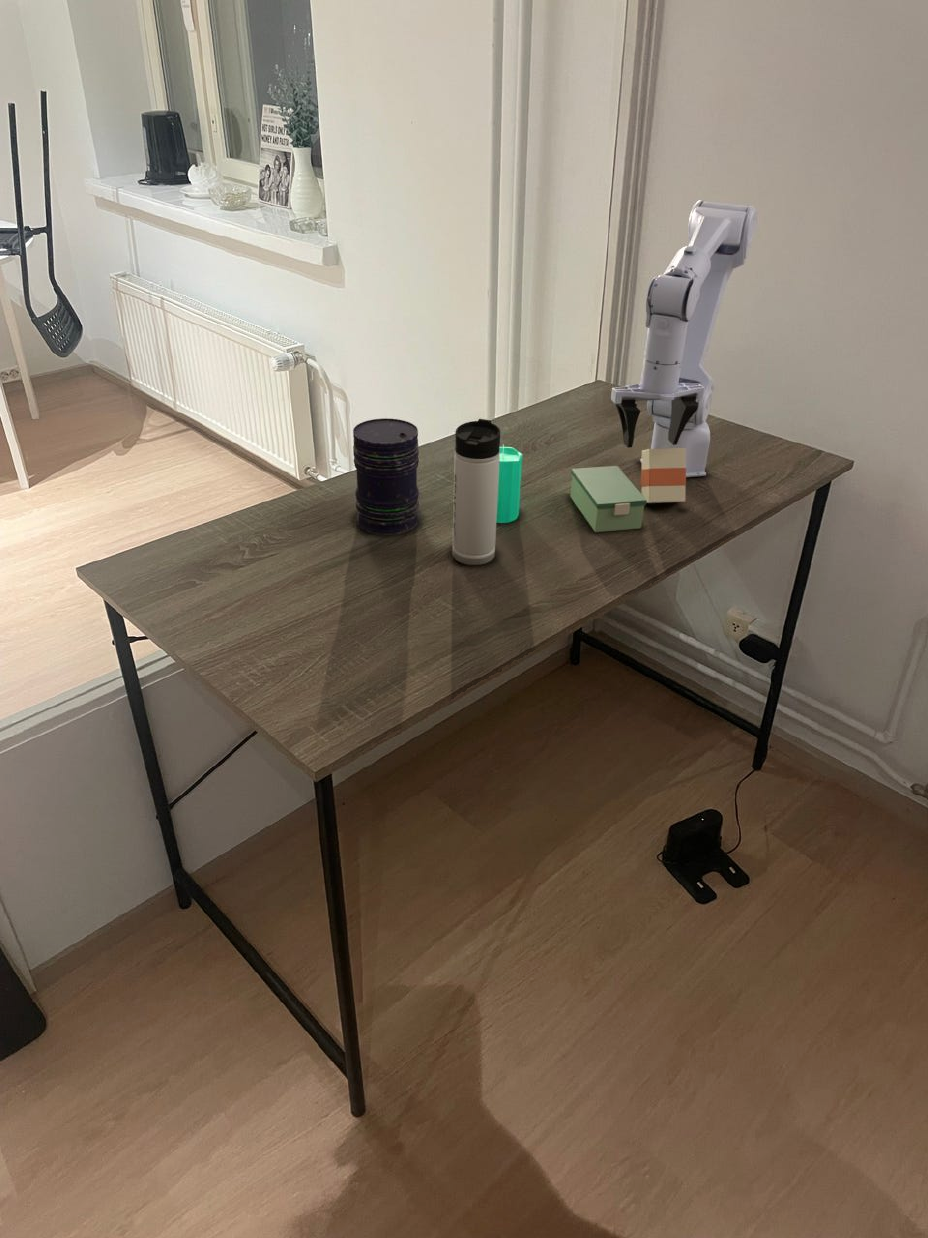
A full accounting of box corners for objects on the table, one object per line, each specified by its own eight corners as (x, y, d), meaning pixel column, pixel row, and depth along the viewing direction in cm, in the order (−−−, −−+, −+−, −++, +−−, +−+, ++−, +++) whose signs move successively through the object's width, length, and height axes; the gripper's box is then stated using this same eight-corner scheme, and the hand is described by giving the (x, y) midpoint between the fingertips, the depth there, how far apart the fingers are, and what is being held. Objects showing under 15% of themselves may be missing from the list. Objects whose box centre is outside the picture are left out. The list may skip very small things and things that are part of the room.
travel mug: (500, 548, 137) (507, 421, 125) (487, 569, 131) (493, 439, 120) (461, 540, 138) (464, 415, 127) (446, 561, 133) (448, 432, 122)
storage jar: (344, 526, 141) (339, 435, 133) (376, 501, 149) (373, 413, 140) (400, 540, 138) (399, 448, 129) (430, 514, 145) (430, 425, 137)
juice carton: (640, 502, 151) (641, 450, 150) (676, 501, 151) (677, 449, 150) (649, 502, 146) (649, 448, 145) (685, 501, 147) (686, 448, 146)
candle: (492, 526, 142) (496, 454, 136) (474, 510, 147) (477, 440, 140) (525, 518, 145) (530, 448, 138) (506, 503, 149) (510, 434, 142)
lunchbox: (613, 492, 154) (616, 464, 151) (643, 529, 143) (647, 501, 140) (568, 495, 152) (570, 468, 149) (594, 533, 141) (598, 504, 138)
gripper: (627, 369, 133) (616, 456, 140) (718, 365, 136) (702, 450, 143) (610, 354, 138) (600, 438, 146) (698, 351, 141) (684, 433, 149)
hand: (650, 443), depth 145 cm, fingers open, 7 cm apart
